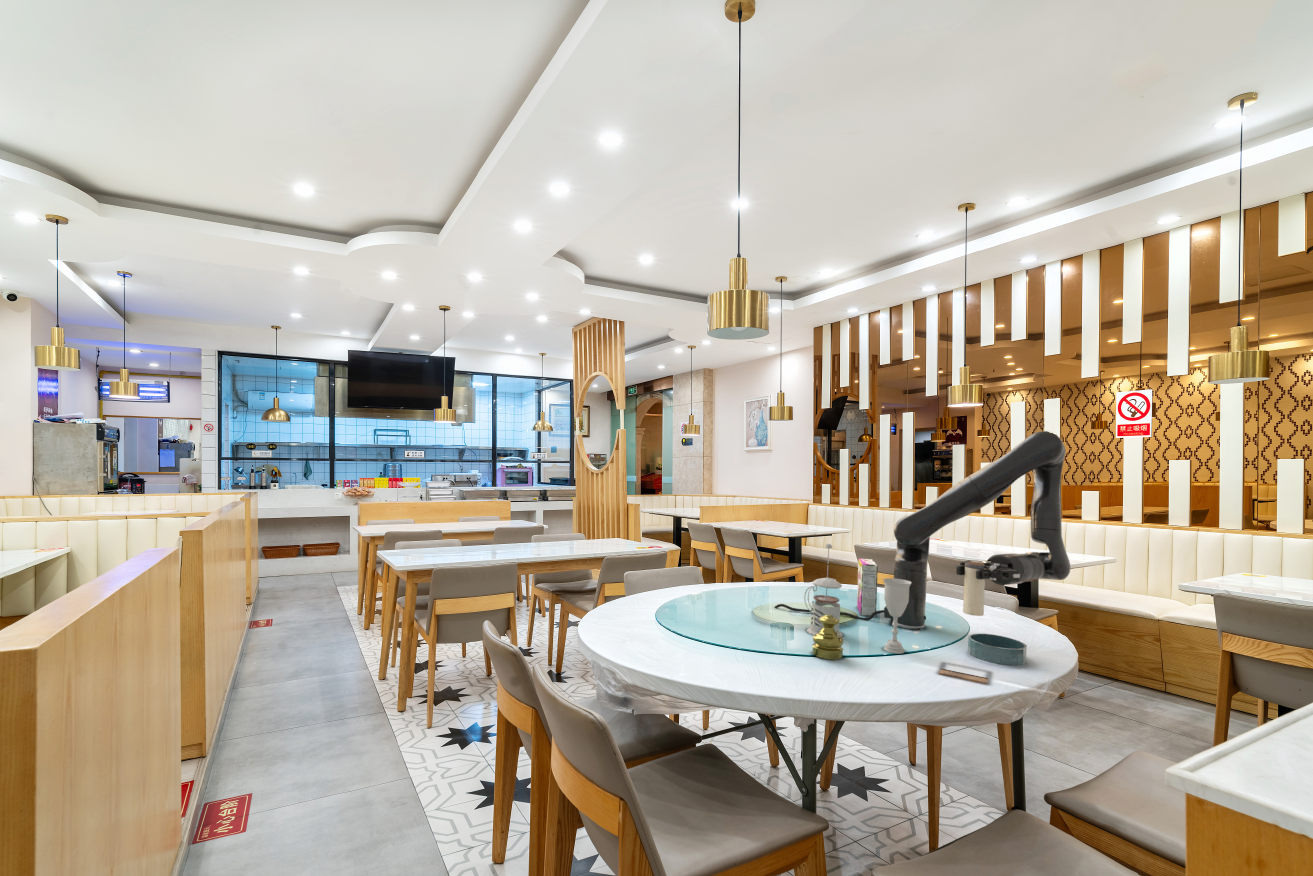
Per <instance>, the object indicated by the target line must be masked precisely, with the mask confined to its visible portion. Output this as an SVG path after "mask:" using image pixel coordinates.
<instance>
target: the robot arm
mask: <svg viewBox="0 0 1313 876" xmlns="http://www.w3.org/2000/svg"><path fill="white" fill-rule="evenodd" d="M1065 457H1066V447H1065V444H1064V442H1063V440H1062V439H1061V437H1060V436H1059V435H1058V434H1057V433H1055V432H1052V431H1047V430H1039V431H1036V432H1034V433H1032V434H1030V435H1029V436H1028V437H1026V438H1025V439H1023V440H1022V441H1021V442H1020V443H1019V444H1017V445H1016V446H1014V447H1013V448H1012V449H1011V450H1010V451H1008V452H1006V453H1004V455H1002V456H1001V457H999V458H997V459H995V460H994V461H992V462H990V463H989V464H987V465H985V466H984V467H982V468H980V469H978V470H977V471H975V472H973V473H972V474H971V473H970V474H969V475H968V476H966V477H965V478H963V479H962V480H960V481H958V482H957V483H955V484H954V485H953V486H951V487H950V488H948V489H947V490H946V491H945V492H943V493H942V494H941V495H939V496H938V497H937V498H936V499H935V500H934V501H932V502H931V503H929V504H928V505H926V506H924V507H922V508H920V509H919V510H916V511H914V512H912V513H910V514H908V515H905V516H902V517H901V518H899V519H898V520H897V522H896V523H895V524H894V528H893V534H894V538H895V540H896V551H895V555H894V558H893V559H894V560H893V579H902V580H907V581H910V582H911V585H910V587H909V602H908V604H907V607H906V609H905V611H904V612H903V614H902V616H900V617H898V619H897V623H898V626H897V628H902V629H907V630H921V629H924V628H925V627H926V621H927V616H926V604H927V603H926V602H927V581H928V564H929V563H928V562H929V554H930V539H931V536H932V535H934V534H935V533H937V532H938V531H940V530H941V529H942V528H944V527H945V526H947V525H950V524H951V523H954V522H956V521H958V520H960V519H963V518H965V517H967V516H969V515H971V514H973V513H975V512H977V511H979V510H980V509H982V508H984V507H985V506H987V505H988V504H990V503H992V502H994V501H995V500H997V499H998V498H999V497H1000V496H1002V495H1003V494H1004V493H1005V492H1006V491H1007V490H1008V489H1009V488H1010V487H1011V486H1012V485H1013V484H1014V483H1015V482H1016V481H1017V480H1018V479H1020V478H1021V477H1023V476H1024V475H1026V474H1028V473H1030V472H1032V477H1033V491H1032V492H1033V494H1032V500H1031V506H1030V507H1031V508H1030V537H1031V540H1032V541H1033V542H1035V543H1037V544H1042V545H1046V547H1047V549H1048V552H1045V551H1028V552H1024V553H999V554H997V553H996V554H993V555H991V556H990V557H988V559H987V560H982V561H975V562H976V563H982V564H984V565H985V567H984V568H985V569H978V570H977V571H976V578H977V579H985V580H989V581H991V582H992V583H993V584H996V585H997V586H1009V585H1018V584H1022V583H1027V582H1034V581H1037V580H1051V581H1063V580H1065V579H1067V578H1068V577H1069V575H1070V573H1071V562H1070V559H1069V556H1068V553H1067V550H1066V547H1065V544H1064V539H1063V534H1062V533H1063V531H1062V530H1063V529H1062V526H1063V525H1062V524H1063V523H1062V503H1061V481H1062V480H1061V479H1062V473H1063V466H1064V461H1065ZM966 562H973V561H972V560H969V559H968V560H965V561H964V560H963V561H961V562H959V565H957V566H956V569H955V570H956V571H955V574H956V575H958V576H964V575H965V566H966ZM781 607H782V608H785V609H787V610H789V611H793V612H800V613H811V611H812V609H810V610H811V611H809V610H808V608H805V609H804V608H796V607H792V606H790V605H787V604H784V603H779V604H776V605H775V606H773V608H774V609H779V608H781ZM878 614H883V618H884V619H889V625H891V626H893V625H892V623H893V620H894V619H893V616H891V615H890V614H889V611H888V609H887V607H886V605H885V606H884V608H883V609H880V610H876V612H873V613H872V614H871V616H866V617H861V616H858V615H855V614H852V613H849V612H844V611H840V616H846V617H850V618H853V619H857V620H861V621H870V620H872V619H873V618H874V617H873V616H874V615H876V616H877V615H878Z"/></svg>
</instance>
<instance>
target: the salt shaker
mask: <svg viewBox="0 0 1313 876" xmlns="http://www.w3.org/2000/svg"><path fill="white" fill-rule="evenodd" d="M819 621H820V622H821V623H822V625H823V628H822V629H821V630H820V631H819V633H816V634H814V635H812V641H813V644H812V645H811V646H812V652H811V653H812V655H814V656H815V657H817V658H819V659H821V660H822V659H823V660H829V661H830V660H831V661H837V660H840V659H843V656H844V648H843V647H842V646H843V645H844V642H845V641H844V639H843V636H842V637H840V636H839V635H838V633H837V632H836V631H835V630H834V627H835V626H836V625H837V624H838V623H839V624H840V620H838V619H837V618H836V617H833V615H830V614H824V615H823V616H822V617H820V618H819Z"/></svg>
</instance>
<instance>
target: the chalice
mask: <svg viewBox="0 0 1313 876" xmlns="http://www.w3.org/2000/svg"><path fill="white" fill-rule="evenodd" d="M882 581H883V583H884V593H883V599H884V603H885V606H886V607H887V609H888V611H889V614H890V615H891V616H893V619H894V620H893V623H892V625H891V626H892V630H891V634H892V637H891V639H888V640H887V641H886V643H885V646H884V647H883V650H884V651H885V652H887V653H890V654H899V655H901V654H904V653H905V650H904V647H903V645H902V642H901V641H899V640H898V638H897V636H898V634H899V630H898V623H897V619H898V617H900V616H902V614H903V612H904V611H905V609H906V607H907V604H908V602H909V587H910V585H911V582H910V581H907V580H902V579H894V577H893V578H891V577H890V578H883V579H882Z"/></svg>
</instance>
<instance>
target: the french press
mask: <svg viewBox="0 0 1313 876" xmlns="http://www.w3.org/2000/svg"><path fill="white" fill-rule="evenodd" d="M825 548H826V549H827V563H829V560H830V559H829V558H830V549H832V548H833V545H832V544H831V543H826V544H825ZM826 569H827V571H826V577H821V578H816V579H814V580H813V581H812V585H811V586H809V587H808V588H806V590H805V592H804V598H803V599H804V600H803V601H804V604H805V608H806V609H807V610H809V611H811V610H812V611H811V612H810V613H811V616H810V617H811V618H810V627H808V628H807V630H806V632H807V633H808V634H810V635H812V636H814V634H816V633H819V631H820V630H821V629H822V628H823V625H822V623H821V622H820V621H819V618H820V617H822V616H825V615H826V614H830V615H833V617H836V618H837V619H838V620H839V621H840V618H841V615H840V612H841V604H840V603H838V602H840V599H839V597H837V596H832V595H828V589H835V590H837V589H841V588H843V584H841V583H840V582H839V581H837V580H835V579H833V578H830V577H829V566H827V568H826ZM818 587H819V588H824V589H825V590H826V592H825V595H824V594H816V595H813V596H812V598H813V599H814V600H813V601H811V603H810V598H809V597H810V591H811V590H812V591H813V592H816V591H818ZM806 594H807V602H806ZM807 603H808V605H807ZM808 606H809V607H808ZM834 630H835V631H836V632H837V633H838V635H839V636H840V637H842V638H843V636H844V635H843V633H842V632H841V631H840V622H839V623H838V624H837V625H836V626H835V627H834Z"/></svg>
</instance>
